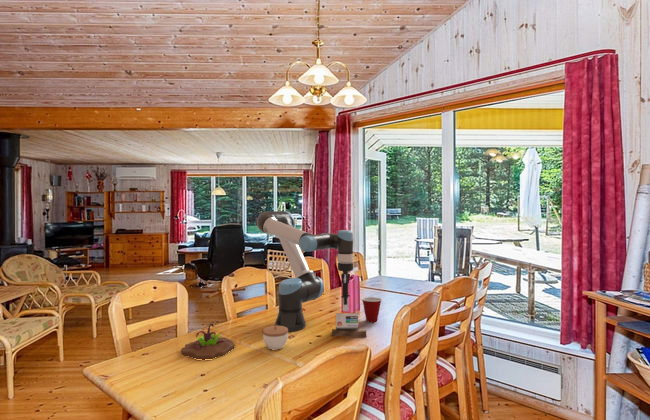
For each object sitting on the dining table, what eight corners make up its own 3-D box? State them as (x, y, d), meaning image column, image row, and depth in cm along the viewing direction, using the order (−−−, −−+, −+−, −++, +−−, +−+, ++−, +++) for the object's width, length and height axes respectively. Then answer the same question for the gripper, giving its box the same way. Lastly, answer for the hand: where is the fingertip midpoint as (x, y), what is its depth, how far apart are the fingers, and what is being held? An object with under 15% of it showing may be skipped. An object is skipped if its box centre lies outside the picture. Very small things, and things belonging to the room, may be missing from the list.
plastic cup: (381, 317, 196) (381, 295, 196) (382, 324, 185) (382, 301, 185) (361, 317, 197) (361, 295, 197) (361, 323, 186) (361, 300, 186)
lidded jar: (264, 353, 149) (264, 331, 149) (261, 344, 159) (261, 323, 159) (290, 351, 152) (290, 328, 152) (285, 341, 162) (285, 320, 162)
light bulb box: (357, 317, 178) (358, 312, 169) (358, 331, 175) (358, 327, 166) (335, 317, 179) (335, 312, 169) (335, 331, 176) (335, 327, 166)
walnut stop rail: (332, 335, 169) (332, 330, 169) (332, 334, 171) (332, 329, 171) (366, 337, 167) (366, 331, 167) (366, 335, 169) (366, 330, 169)
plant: (243, 347, 157) (242, 321, 157) (207, 364, 140) (207, 336, 140) (210, 338, 167) (210, 314, 167) (174, 354, 150) (173, 327, 150)
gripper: (352, 264, 168) (353, 314, 169) (353, 260, 181) (353, 306, 182) (336, 264, 169) (337, 314, 170) (338, 260, 182) (338, 306, 182)
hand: (345, 310), depth 176 cm, fingers closed
